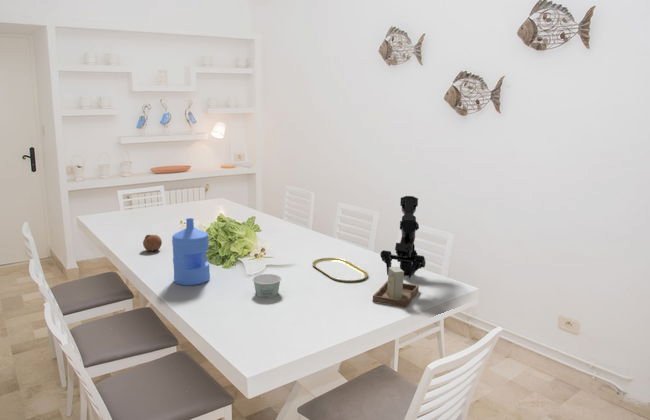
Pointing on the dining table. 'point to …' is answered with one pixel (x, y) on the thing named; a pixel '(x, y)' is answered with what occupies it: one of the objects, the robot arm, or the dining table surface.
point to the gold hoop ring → (342, 262)
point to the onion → (152, 242)
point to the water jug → (190, 255)
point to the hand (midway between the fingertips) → (398, 276)
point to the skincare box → (395, 282)
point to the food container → (266, 285)
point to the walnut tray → (407, 297)
